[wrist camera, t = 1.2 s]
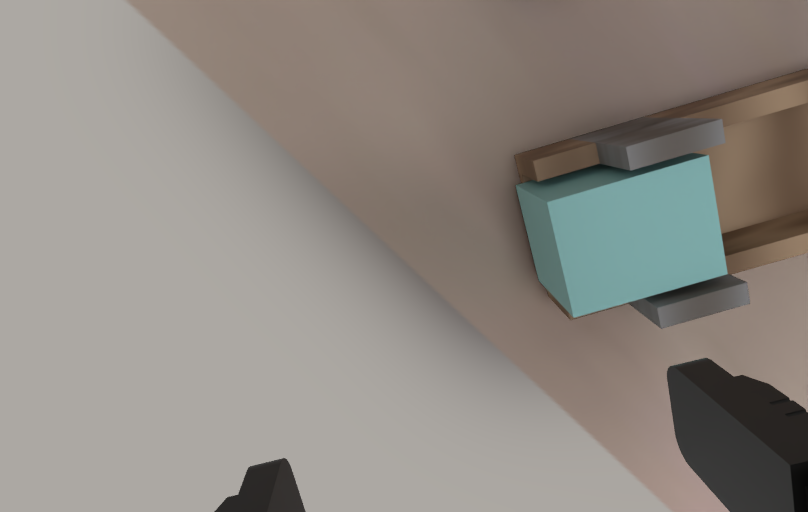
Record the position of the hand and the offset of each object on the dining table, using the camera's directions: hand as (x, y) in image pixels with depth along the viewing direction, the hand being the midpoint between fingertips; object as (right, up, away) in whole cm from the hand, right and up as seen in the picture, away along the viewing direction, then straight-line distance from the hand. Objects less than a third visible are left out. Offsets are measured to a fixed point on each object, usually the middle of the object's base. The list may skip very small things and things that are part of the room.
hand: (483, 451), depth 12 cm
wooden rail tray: (+13, +8, +20) cm, 25 cm away
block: (+8, +6, +19) cm, 22 cm away
